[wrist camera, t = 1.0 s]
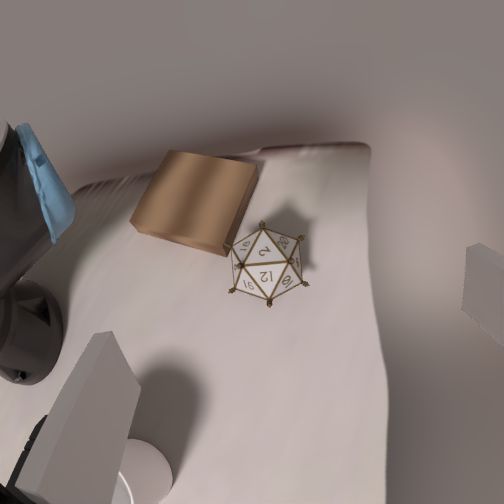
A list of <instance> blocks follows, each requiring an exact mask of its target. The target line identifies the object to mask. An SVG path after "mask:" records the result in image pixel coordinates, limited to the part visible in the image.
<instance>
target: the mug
mask: <svg viewBox="0 0 504 504" xmlns="http://www.w3.org/2000/svg"><path fill="white" fill-rule="evenodd" d="M172 479H173V478H172V471H171V468H170V465H169V463H168V461H167V460H166V458H165V457H164V456H163V454H162V453H161V452H160V451H159V450H158V449H156V448H155V447H154V446H152V445H151V444H149V443H147V442H144V441H141V440H137V439H127V442H126V446H125V450H124V453H123V457H122V461H121V465H120V469H119V473H118V477H117V481H116V485H115V490H114V494H113V498H112V503H111V504H158V503H160V502H161V501H162V500H163V499H164V498H165V497H166V496H167V495H168V493H169V491H170V489H171V486H172Z"/></svg>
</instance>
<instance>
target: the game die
mask: <svg viewBox="0 0 504 504" xmlns="http://www.w3.org/2000/svg"><path fill="white" fill-rule="evenodd" d="M259 225H260V227H261V229H259V230H257V231H256V232H254V233H252V234H251V235H249V236H247V237H246V238H244V239H242V240H241V241H239V242H237V243H236V244H234V245H231V244H229V242H228V243H224V244H225V246H226V247H228V248H231V257H232V269H233V280H234V288H231V289H229V292H228V293H233V292H235V290H239V291H242V292H245V293H248V294H251V295H253V296H256V297H259V298H262V299H265V300H268V301H267V306H268V307H269V308H270V307H271V306H272V301H273V299H274V298H276V297H278V296H279V295H281V294H283V293H285V292H287V291H289V290H290V289H292V288H294V287H296V286H298V285H299V284H303V286H305V287H306V286H310V285H309V284H308V282H306V281H303V280H302V269H301V258H300V248H299V241H302V240H303V239H304V236H305V235H303V236H301V235H300V237H299V238H298V239H295V238H292V237H289V236H286V235H283V234H280V233H277V232H275V231H272V230H269V229H266V228H264V227H265V223H264V222H263V221H262V220H261V222H260V224H259Z"/></svg>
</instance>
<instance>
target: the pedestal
mask: <svg viewBox="0 0 504 504" xmlns="http://www.w3.org/2000/svg"><path fill="white" fill-rule="evenodd" d="M258 179H259V178H258V171H257V165H255V164H250V163H245V162H239V161H234V160H228V159H223V158H217V157H211V156H205V155H199V154H193V153H186V152H180V151H173V150H169V152H168V153H167V155H166V157H165V158H164V160H163V162H162V163H161V165H160V167H159V168H158V170H157V172H156V174H155V175H154V177H153V179H152V180H151V182H150V184H149V186H148V187H147V189H146V191H145V193H144V195H143V196H142V198H141V200H140V202H139V204H138V206H137V207H136V209H135V211H134V213H133V215H132V217H131V219H130V222H131V224H132V225H133V226H134V227H135V228H136V230H137V231H138V232H140V233H144V234H147V235H151V236H154V237H158V238H161V239H165V240H168V241H171V242H175V243H178V244H182V245H185V246H189V247H192V248H196V249H199V250H203V251H206V252H210V253H213V254H217V255H221V256H224V257H227V256H228V254H229V251H230V249H231V248H228V247H226V246H225V244H224V243H228V242H229V244H231V245H232V243H233V241H234V238H235V236H236V233H237V231H238V228H239V226H240V223H241V221H242V218H243V216H244V214H245V211H246V209H247V206H248V204H249V201H250V199H251V196H252V194H253V191H254V189H255V186H256V184H257V182H258Z"/></svg>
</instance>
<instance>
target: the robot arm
mask: <svg viewBox="0 0 504 504" xmlns="http://www.w3.org/2000/svg"><path fill="white" fill-rule="evenodd" d="M75 215H76V206H75V203H74V201H73V199H72V197H71V196H70V194H69V193H68V191H67V189H66V187H65V186H64V184H63V182H62V181H61V179H60V178H59V176H58V174H57V172H56V171H55V169H54V167H53V165H52V164H51V162H50V160H49V159H48V157H47V155H46V153H45V151H44V150H43V148H42V146H41V144H40V142H39V141H38V139H37V137H36V135H35V134H34V132H33V130H32V129H31V127H30V125H29V124H28V123H23V124H22V125H18V126H17V127H16V128H15V131H14V130H13V129H12V128H11V127H10V125H9V124H8V123H7V121H6V120H5V119H3V118H1V117H0V376H1V377H3V378H4V379H6V380H7V381H10V382H12V383H16V384H21V385H33V384H36V383H38V382H40V381H42V380H43V379H44V378H45V377H46V376H47V375H48V374H49V373H50V371H51V370H52V368H53V367H54V365H55V363H56V361H57V358H58V355H59V352H60V348H61V343H62V318H61V313H60V309H59V306H58V304H57V302H56V300H55V298H54V297H53V295H52V294H51V293H50V292H49V291H48V290H47V289H45V288H44V287H42V286H40V285H38V284H37V283H35V282H32V281H28V280H20V278H21V277H22V276H23V275H24V274H25V273H26V272H27V271H28V270H29V269H30V268H31V267H32V266H33V264H34V263H35V262H36V261H37V260H38V259H39V258H40V257H41V256H42V255H43V254H44V253H45V252H46V251H47V250H48V249H49V248H50V247H51V246H52V245H55V243H56V242H57V239H58V238H59V237H60V236H61V235H62V233H63V232H64V231H65V230H66V229H67V228H68V227H69V226H70V225H71V224H72V223H73V221H74V219H75ZM461 310H462V311H463V312H465V313H466V314H467V315H468V316H469V317H470V318H471V319H473V320H474V321H475V322H476V323H477V324H478V325H479V326H481V327H482V328H483V329H484V330H485V331H486V332H488V334H489V335H491V336H492V337H493V338H494V339H495V340H496V341H497V342H498V343H499V344H500V345H501V346H503V348H504V256H503V255H501V254H499V253H498V252H496V251H494V250H492V249H490V248H488V247H486V246H484V245H482V244H481V243H479V244H476V245H473V246H469V247H467V248H466V266H465V280H464V291H463V301H462V309H461ZM140 392H141V387H140V385H139V383H138V382H137V380H136V378H135V376H134V374H133V372H132V370H131V368H130V367H129V365H128V363H127V361H126V359H125V357H124V355H123V353H122V351H121V349H120V347H119V345H118V343H117V341H116V338H115V336H114V334H113V332H112V331H109V332H103V333H97V334H94V335H93V337H92V338H91V340H90V342H89V343H88V345H87V347H86V348H85V350H84V352H83V353H82V355H81V357H80V358H79V360H78V362H77V364H76V365H75V367H74V369H73V371H72V372H71V374H70V376H69V378H68V379H67V381H66V383H65V385H64V386H63V388H62V390H61V392H60V394H59V396H58V397H57V399H56V401H55V403H54V405H53V407H52V409H51V411H50V412H49V414H48V415H45V416H44V417H43V418H42V419H41V420H40V421H39V423H38V424H37V425H36V426H35V428H34V429H33V431H32V433H31V435H30V437H29V441H27V443H26V445H25V447H24V449H25V450H24V451H22V453H21V455H20V457H19V460H18V462H17V464H16V466H15V468H14V470H13V472H12V475H11V477H10V479H9V481H8V483H7V485H6V487H4V486H3V485H2V484H1V483H0V504H111V503H112V498H113V494H114V490H115V485H116V481H117V477H118V473H119V469H120V465H121V461H122V457H123V453H124V450H125V446H126V442H127V438H128V435H129V431H130V427H131V424H132V420H133V417H134V413H135V410H136V406H137V403H138V399H139V396H140Z"/></svg>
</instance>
